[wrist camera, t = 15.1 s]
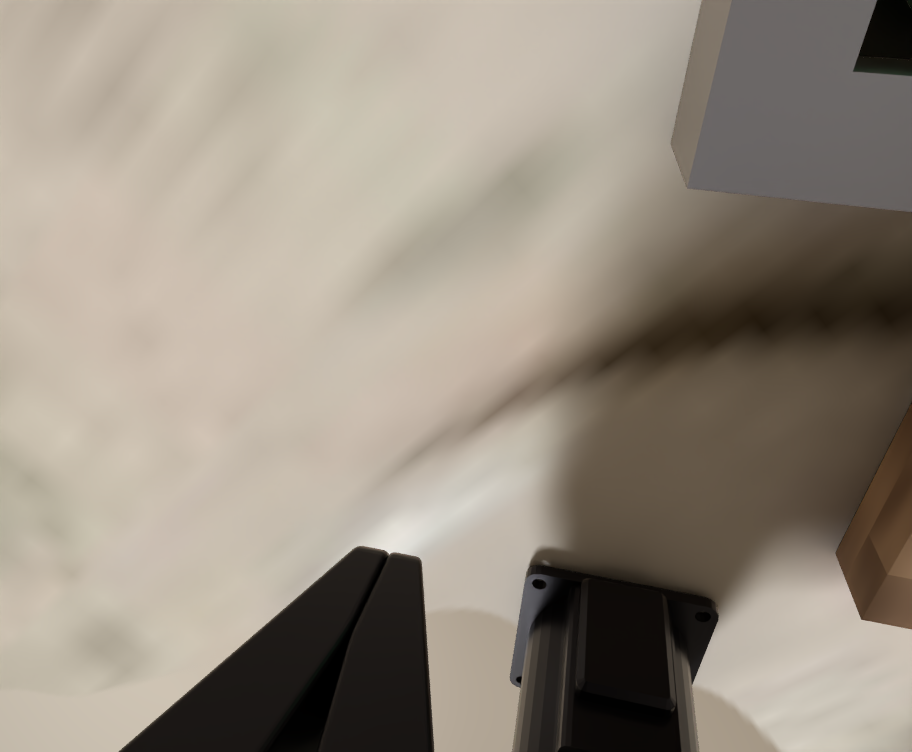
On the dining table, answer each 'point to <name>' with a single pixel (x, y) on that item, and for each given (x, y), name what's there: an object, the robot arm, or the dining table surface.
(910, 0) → the button
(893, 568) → the brown wooden pocket tray
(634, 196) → the dining table surface
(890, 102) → the button housing
